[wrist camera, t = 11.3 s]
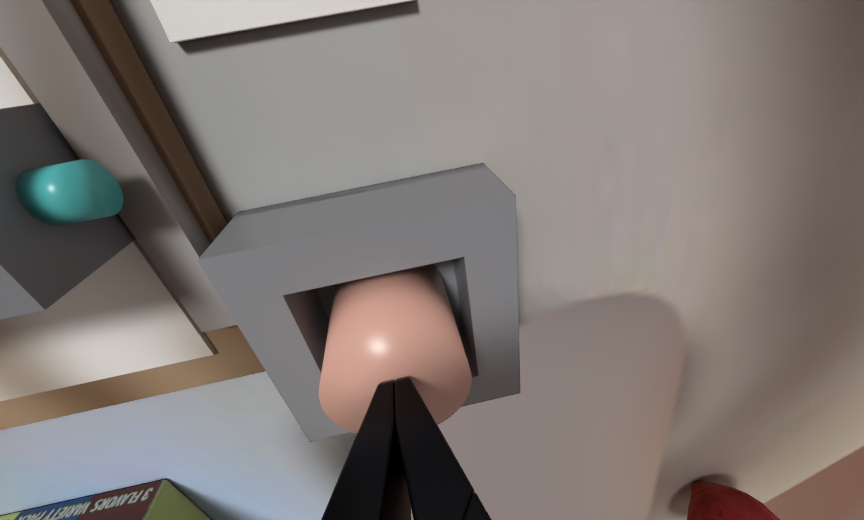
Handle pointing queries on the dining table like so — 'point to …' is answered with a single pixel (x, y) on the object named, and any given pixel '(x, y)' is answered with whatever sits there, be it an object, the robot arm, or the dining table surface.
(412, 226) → the button housing
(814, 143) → the dining table surface
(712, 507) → the onion
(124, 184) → the clipboard
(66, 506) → the protein box
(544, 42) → the dining table surface
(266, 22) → the card
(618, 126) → the dining table surface
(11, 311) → the block
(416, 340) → the button
